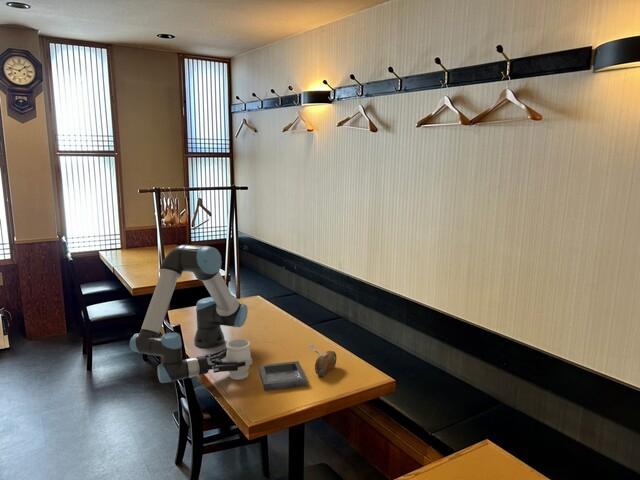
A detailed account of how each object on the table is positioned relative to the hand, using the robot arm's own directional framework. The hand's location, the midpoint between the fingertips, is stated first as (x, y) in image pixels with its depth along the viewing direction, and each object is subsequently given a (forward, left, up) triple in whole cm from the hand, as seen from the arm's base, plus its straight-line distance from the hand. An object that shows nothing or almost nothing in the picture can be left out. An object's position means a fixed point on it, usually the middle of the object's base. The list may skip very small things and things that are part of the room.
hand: (246, 355), depth 201 cm
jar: (+1, -4, -9) cm, 10 cm away
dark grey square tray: (+8, +14, -9) cm, 18 cm away
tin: (+6, +34, -9) cm, 36 cm away
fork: (-12, +36, -9) cm, 39 cm away
